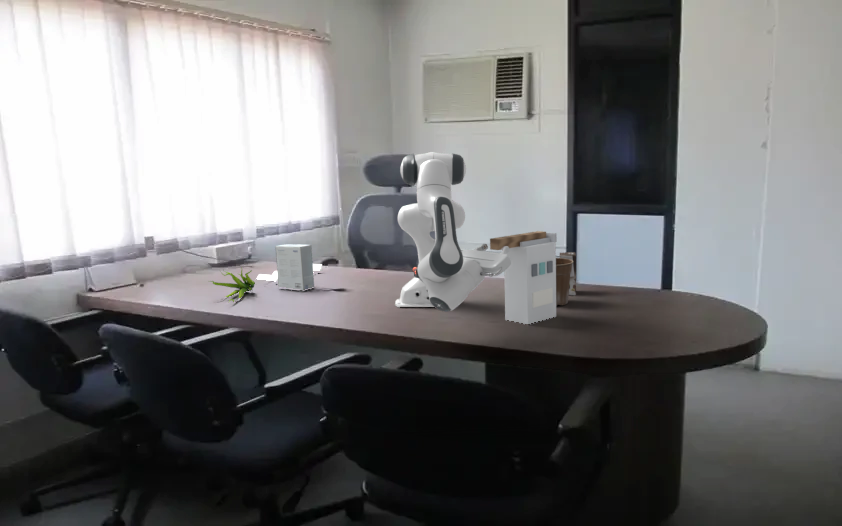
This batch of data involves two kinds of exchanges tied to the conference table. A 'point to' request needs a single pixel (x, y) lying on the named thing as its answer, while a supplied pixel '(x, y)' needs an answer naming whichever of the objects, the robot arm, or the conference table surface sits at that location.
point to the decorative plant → (238, 284)
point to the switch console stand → (531, 281)
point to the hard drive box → (295, 266)
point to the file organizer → (275, 275)
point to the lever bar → (515, 240)
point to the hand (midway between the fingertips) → (496, 246)
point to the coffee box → (573, 273)
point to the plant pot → (562, 280)
